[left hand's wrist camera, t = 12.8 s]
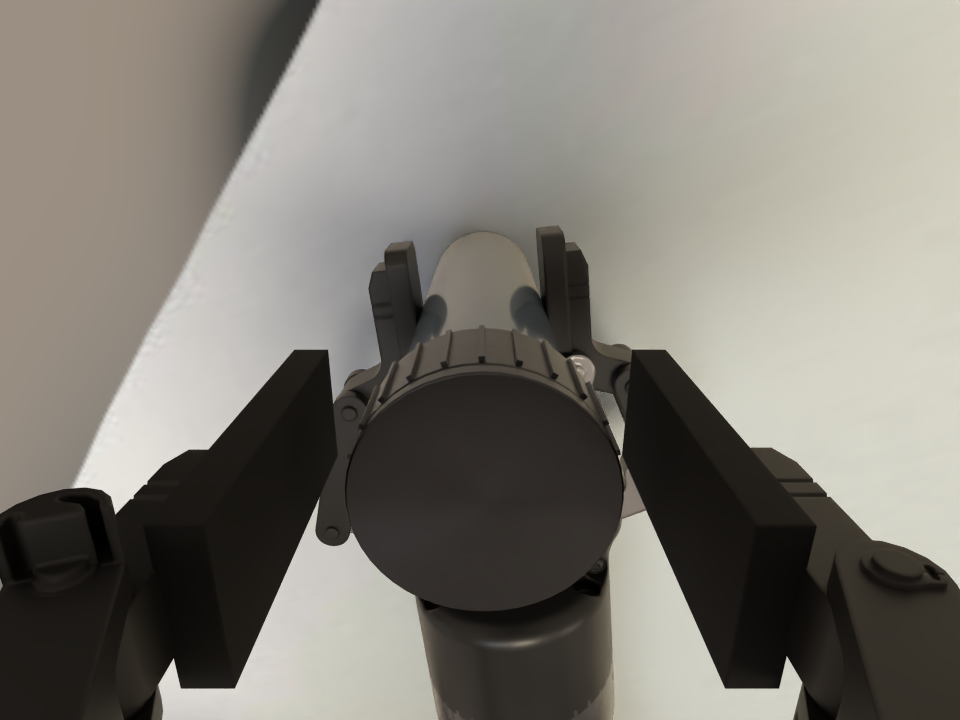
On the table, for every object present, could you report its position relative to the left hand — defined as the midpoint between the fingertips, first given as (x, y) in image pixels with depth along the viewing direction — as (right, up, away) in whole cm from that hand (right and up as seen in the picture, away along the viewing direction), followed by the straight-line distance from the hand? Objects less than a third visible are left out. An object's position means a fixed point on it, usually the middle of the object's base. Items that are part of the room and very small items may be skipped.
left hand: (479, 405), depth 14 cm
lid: (0, -1, -3) cm, 4 cm away
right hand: (0, +5, +5) cm, 7 cm away
